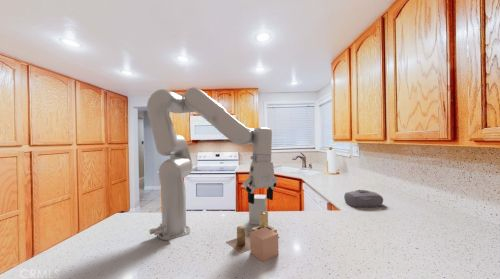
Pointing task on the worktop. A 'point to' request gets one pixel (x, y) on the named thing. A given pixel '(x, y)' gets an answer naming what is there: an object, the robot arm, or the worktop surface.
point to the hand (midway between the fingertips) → (260, 201)
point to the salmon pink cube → (264, 243)
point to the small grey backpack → (363, 199)
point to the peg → (263, 219)
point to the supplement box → (257, 209)
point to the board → (241, 249)
